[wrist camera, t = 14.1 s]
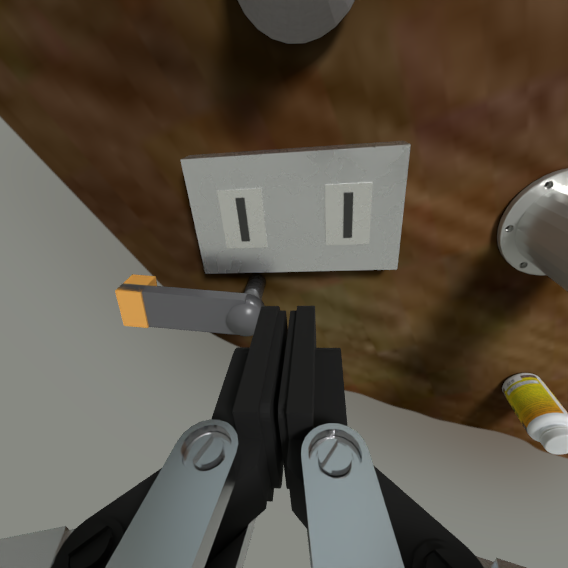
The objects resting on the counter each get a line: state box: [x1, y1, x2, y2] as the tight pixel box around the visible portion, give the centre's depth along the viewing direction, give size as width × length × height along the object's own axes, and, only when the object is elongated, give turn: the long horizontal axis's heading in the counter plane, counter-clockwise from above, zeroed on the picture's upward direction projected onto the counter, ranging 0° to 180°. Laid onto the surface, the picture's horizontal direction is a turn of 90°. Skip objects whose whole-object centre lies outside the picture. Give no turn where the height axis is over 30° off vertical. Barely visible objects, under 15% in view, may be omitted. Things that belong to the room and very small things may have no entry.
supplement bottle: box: [502, 373, 568, 454], centre depth 46 cm, size 6×6×10 cm
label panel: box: [181, 141, 411, 274], centre depth 39 cm, size 24×14×3 cm, turn 94°
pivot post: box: [244, 274, 266, 299], centre depth 43 cm, size 2×2×6 cm
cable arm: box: [115, 275, 264, 336], centre depth 40 cm, size 17×5×4 cm, turn 88°
